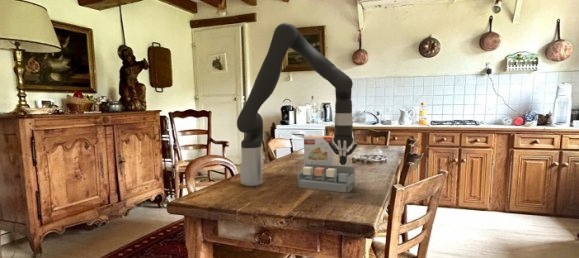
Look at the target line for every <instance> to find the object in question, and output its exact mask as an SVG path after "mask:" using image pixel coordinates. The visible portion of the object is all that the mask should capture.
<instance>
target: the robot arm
mask: <svg viewBox="0 0 579 258" xmlns="http://www.w3.org/2000/svg"><path fill="white" fill-rule="evenodd" d="M270 41H271V42H270V43H269V44H270V45H269V47H268V50H267V54H266V55H265V58H263V59H264V60H263V62H262V64H261V67H260V69H259V70H258V73H257V75H256V78H255V80H254V84H253V86H252V88H251V90H250V92H249V95H248V97H247V100H246V101H245V104H244V106H243V107H242V109H241V111H240V113H239V115H238V117H237V119H236V128H237V130H238V131H239V132H241V133H242V134H246V135H245V137H244V138H243V139H242V140H241V142H240V147H241V150H240V151H241V162H240V164H239V168H240V169H239V170H240V171H239V175H240V185H243V186H248V187H249V186H250V187H252V186H253V187H254V186H260V185H262V184H263V163H262V162H263V161H262V160H263V159H262V157H263V156H262V154H263V153H262V142H263V140H264V121H263V118H262V116H261V114H260V113H258V112H259V111H260V108H261V107H262V106H263V105H264V104H265V102H266V101H267V100H268V99H269V98H270V97H271V95H272V94H273V93H274V91H275V89H276V86H277V84H278V82H279V80H280V77H281V73H282V66H283V62H284V59H285V57H286V54H287V53H288V51H289V49H291V50H293V51H295V52H296V53H297V54H298V55H299V56H300V57H302V59H303V60H305V62H306V63H307V64H308V65H309V67H310V68H311V69H312V70H314V71H315V72H316V73H317V74H318V75H319V76H320V77H322V78H323V79H324V80H326V81H328V83H330V85H331V86H333V88H334V91H335V93H334V94H335V104H334V108H335V109H334V139H333V141H332V142H330V143H329V145H330V147H331V148H332V150H333V151H334V155H338V156H339V164H340V166H346V165H347V164H348V156H351V155H352V154H353V152H354V151H355V150H356V149H357V147H358V146H359V145H360V144H359V142H358V143H357V142H356V141H354V140H355V139H354V137H353V128H354V126H353V124H354V121H353V119H354V118H353V101H352V88H353V85H354V83H353V80H352V78H351V77H350V76H349V75H348V74H346V73H345V72H344V71H343V70H341V69H340V68H338V67H337V66H336V65H335V64H334V63H333V62H332V61H331V60H329V59H328V58H327V57H326V56H325V55H324V54H322V53H321V52H320V51H319V50H318V49H316V48H315V47H314V46H313V45H312V44H311V43H309V41H307V39H306V38H305V37H304V36H303V34H302V33H301V32H300V31H299V30H298V28H297V27H296V26H295V25H294V24H291V23H288V22H282V23H280V24H278V25H277V26H276V28H274V31H273V35H272V38H271V40H270ZM350 147H351V148H350ZM349 148H350V149H349Z"/></svg>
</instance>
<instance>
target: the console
mask: <svg viewBox="0 0 579 258" xmlns="http://www.w3.org/2000/svg"><path fill="white" fill-rule="evenodd" d="M305 167H313V173H312V174H310V175H303V170H302V171H301V172H297V173H296V176H297V177H296V178H297V179H296V180H297V182H296V183H297V188H300V189H311V190H320V191H328V192H336V193H337V192H338V193H346V194H347V193H350V192H351V191H352V190H353V189H354V188H356V174H355V173H356V167H355V166H354V165H353V166H351V165H341V164H340V165H339V164H338V165H337V164H334V165H326V164H311V163H305ZM317 167H319V168H325V174H324V175H322V176H314V169H315V168H317ZM329 168H332V169H337V175H336V176H334V177H326V170H327V169H329ZM340 173H346V174H349V176H348V177H347V178H346V182H339V180H338V175H339V174H340Z"/></svg>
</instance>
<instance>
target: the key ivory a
mask: <svg viewBox="0 0 579 258" xmlns="http://www.w3.org/2000/svg"><path fill="white" fill-rule="evenodd" d="M302 171H303V175H310V174H312V173H313V167H302Z"/></svg>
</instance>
